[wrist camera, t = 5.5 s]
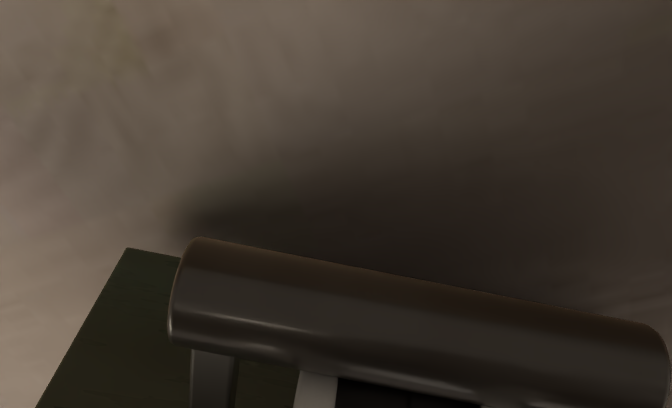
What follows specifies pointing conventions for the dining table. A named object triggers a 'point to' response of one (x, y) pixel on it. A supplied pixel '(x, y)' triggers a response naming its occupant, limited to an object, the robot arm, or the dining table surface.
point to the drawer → (338, 338)
